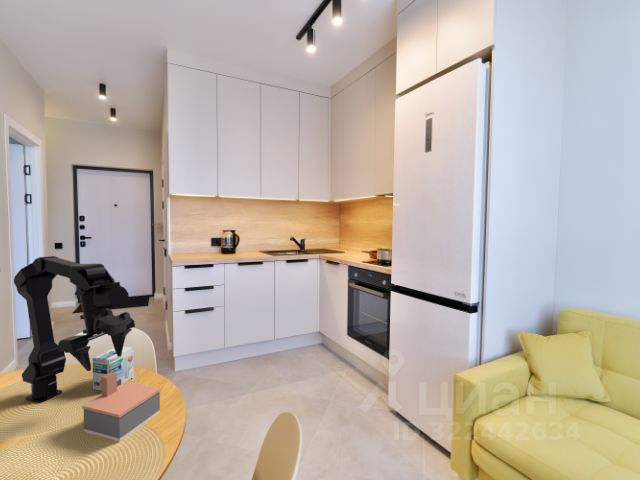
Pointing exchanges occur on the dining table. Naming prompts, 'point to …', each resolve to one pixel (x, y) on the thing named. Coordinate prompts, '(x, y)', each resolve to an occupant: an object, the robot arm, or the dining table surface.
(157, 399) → the carton
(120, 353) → the robot arm
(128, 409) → the lid
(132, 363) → the light bulb box
